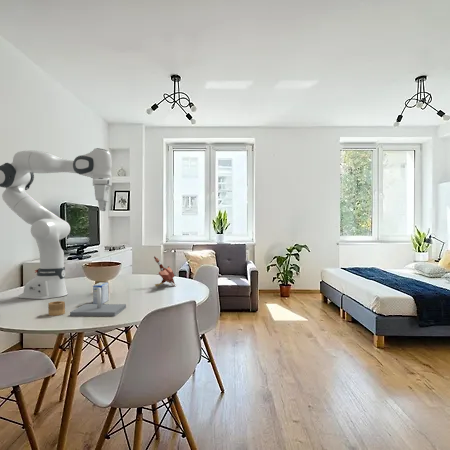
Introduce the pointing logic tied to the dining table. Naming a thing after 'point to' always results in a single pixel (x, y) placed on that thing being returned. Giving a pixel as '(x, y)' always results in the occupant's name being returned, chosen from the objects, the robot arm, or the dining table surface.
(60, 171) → the robot arm
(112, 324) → the dining table surface
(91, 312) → the stand
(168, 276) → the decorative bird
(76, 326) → the dining table surface
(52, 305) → the bead
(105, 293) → the medicine box
